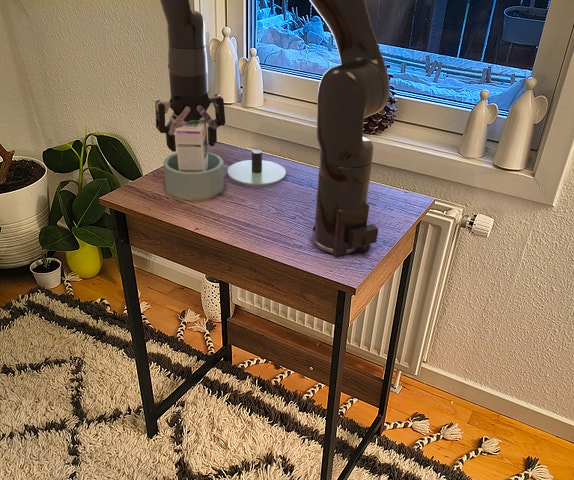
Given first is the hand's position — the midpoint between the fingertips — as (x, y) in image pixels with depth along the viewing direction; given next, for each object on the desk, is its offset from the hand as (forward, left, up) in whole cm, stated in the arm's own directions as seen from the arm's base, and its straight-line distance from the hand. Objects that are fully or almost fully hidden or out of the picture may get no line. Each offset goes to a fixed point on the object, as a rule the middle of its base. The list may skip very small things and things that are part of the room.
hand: (192, 147), depth 123 cm
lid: (+1, -16, -9) cm, 18 cm away
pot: (0, 0, -9) cm, 9 cm away
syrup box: (0, 0, -9) cm, 9 cm away
